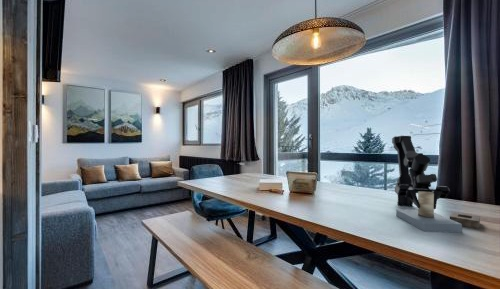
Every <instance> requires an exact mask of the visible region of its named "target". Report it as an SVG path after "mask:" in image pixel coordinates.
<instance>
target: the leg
mask: <svg viewBox="0 0 500 289" xmlns="http://www.w3.org/2000/svg"><path fill="white" fill-rule="evenodd" d="M417 199H418V202H419V205H420V208H418V207H417V209H418V215H420V216H422V217H424V218H430V217H434V213H435V209H434V193H433V192H427V191H418V193H417Z"/></svg>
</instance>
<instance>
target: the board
mask: <svg viewBox="0 0 500 289" xmlns="http://www.w3.org/2000/svg"><path fill="white" fill-rule="evenodd" d="M395 214H396V217H397V218H400V219H402V220H403V221H404V222H407V224H408V223H409V224H410V225H412V226H414V227H415V228H417V229H419V230H421V231H422V232H431V233H432V232H437V233H438V232H441V233H445V232H446V233H447V232H449V233H451V232H452V233H455V232H456V233H457V232H458V233H462V232H463V226H462V224H460V223H458V222H456V221H453V220H451V219H450V217H449V218H448V217H446V216H444V215H442V214H440V213H436V212H434V217H430V218H424V217H422V216H420V215H418V208H417V209H406V208H405V209H399V208H398V209H397V208H396V210H395Z"/></svg>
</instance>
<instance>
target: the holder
mask: <svg viewBox="0 0 500 289" xmlns="http://www.w3.org/2000/svg"><path fill="white" fill-rule="evenodd" d="M449 219H451V220H453V221H456V222H458V223H460V224H462V227H467V228H473V229H477V230H478V229H480V225H481V215H476V214H475V215H474V214H469V213H464V212H463V213H462V212H456V211H452V212H451V214H450V215H449Z"/></svg>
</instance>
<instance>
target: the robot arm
mask: <svg viewBox="0 0 500 289" xmlns="http://www.w3.org/2000/svg"><path fill="white" fill-rule="evenodd" d="M391 143H392V145H393V148H394V150H396V152H397V161H398V171H399V172H398V174H399V177H397V180H396V183H395V186H394V192H395V194H396V195H397V202H396V203H397V205H398V206H405V207H413V204H414V205H415V206H416V207H417V209H418V208H420V205H419V202H418V195H417V194H418V191H427V192H433V193H434V210H436V208H437V203H438V202H437V201H438V200H439V199H447V198H448V196H449V194H450V192H451V190H450V188H449V186H446V185H445V186H444V185H436V187H435V188H431V187H432V183H436V182H437V181H438V177H437V174H436V173H430V174H425V172H426V171H427V169H428V167H429V165H430V161H431V159H430V157H428V155H425V154H424V153H423V152H417V151H416V149H415V146H414V144H413V142H412V137H411V135H409V134H403V135H402V134H401V135H394V136H393V137H392V139H391Z"/></svg>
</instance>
